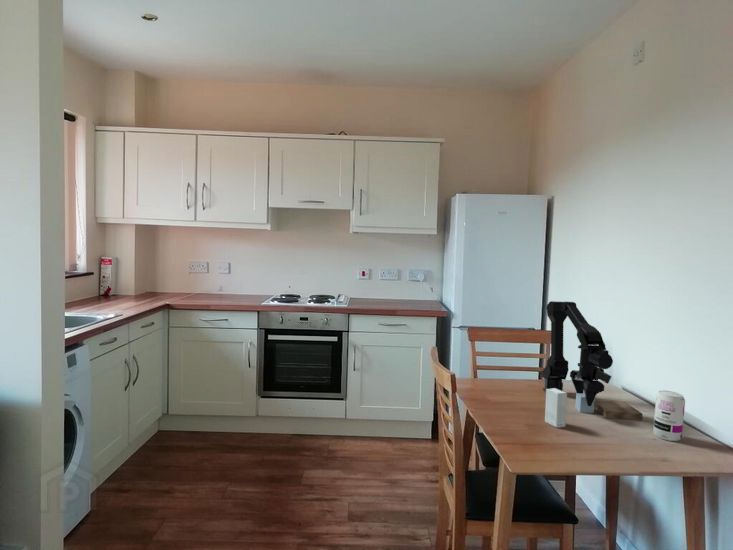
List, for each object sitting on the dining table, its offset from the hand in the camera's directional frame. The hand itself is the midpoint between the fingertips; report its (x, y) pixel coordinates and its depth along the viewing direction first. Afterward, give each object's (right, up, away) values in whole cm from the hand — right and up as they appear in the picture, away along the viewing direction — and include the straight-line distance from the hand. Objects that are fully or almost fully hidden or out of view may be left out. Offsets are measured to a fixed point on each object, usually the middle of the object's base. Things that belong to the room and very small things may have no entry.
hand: (584, 402), depth 183 cm
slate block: (0, -3, 0) cm, 3 cm away
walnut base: (+12, -4, -1) cm, 12 cm away
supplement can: (+17, -6, -23) cm, 29 cm away
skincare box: (-18, -4, -17) cm, 25 cm away
